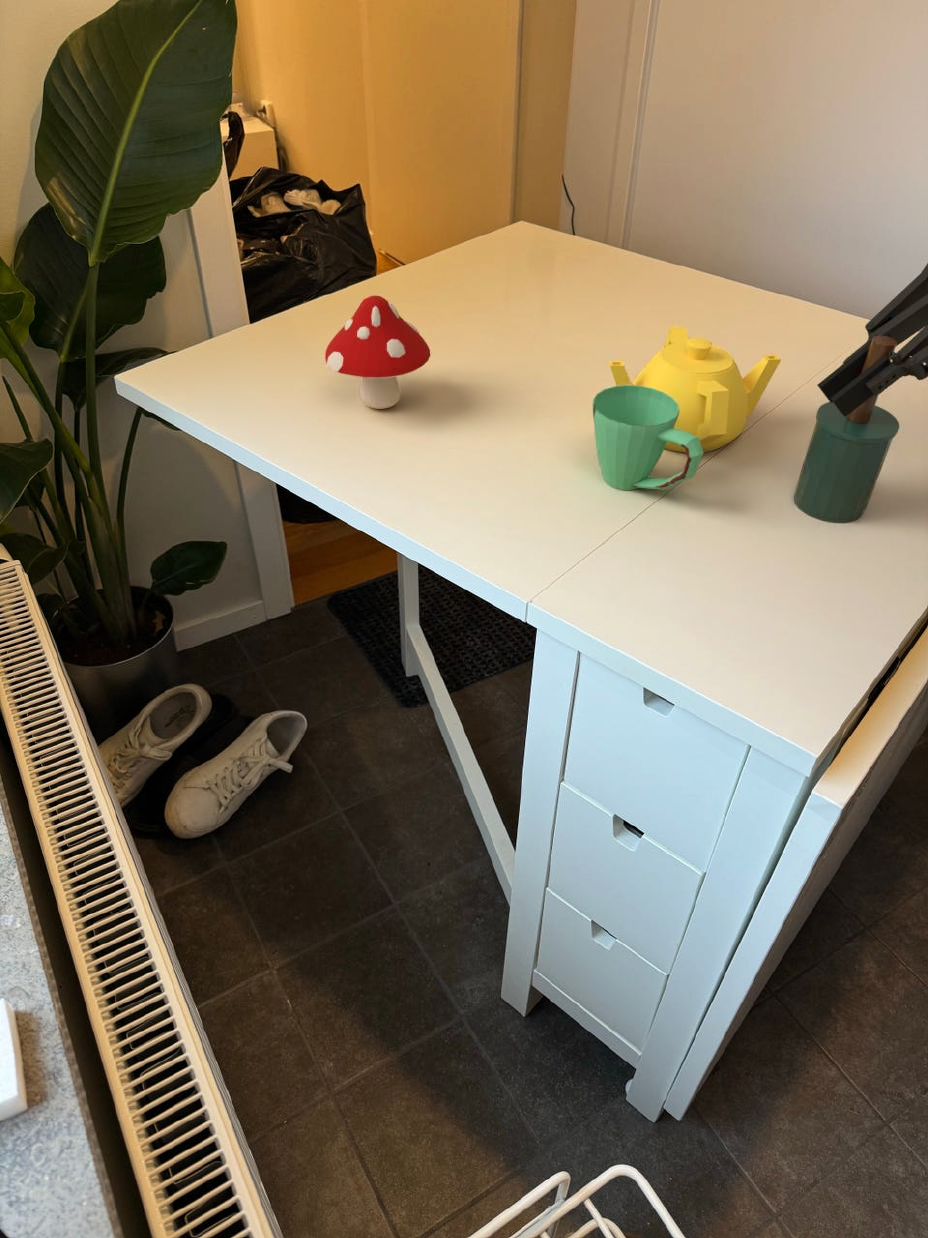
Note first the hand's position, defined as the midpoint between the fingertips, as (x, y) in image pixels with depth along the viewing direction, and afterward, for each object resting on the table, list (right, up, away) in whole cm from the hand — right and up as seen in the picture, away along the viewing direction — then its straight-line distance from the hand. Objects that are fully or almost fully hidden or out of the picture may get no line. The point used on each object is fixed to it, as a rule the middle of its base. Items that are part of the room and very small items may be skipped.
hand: (831, 400), depth 96 cm
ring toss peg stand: (+4, -2, +3) cm, 5 cm away
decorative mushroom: (-51, +6, +26) cm, 57 cm away
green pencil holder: (+4, -10, +9) cm, 14 cm away
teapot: (-11, +2, +22) cm, 25 cm away
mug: (-18, -8, +11) cm, 23 cm away
